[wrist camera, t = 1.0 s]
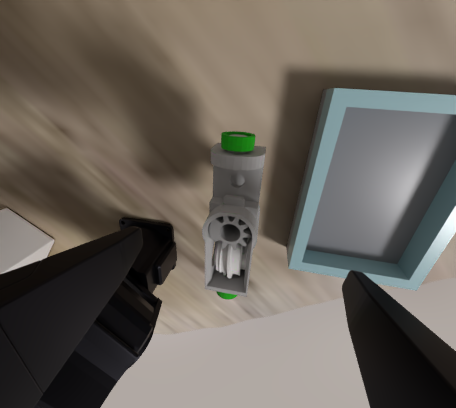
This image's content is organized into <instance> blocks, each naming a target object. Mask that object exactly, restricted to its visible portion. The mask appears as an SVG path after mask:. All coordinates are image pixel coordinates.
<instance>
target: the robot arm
mask: <svg viewBox="0 0 456 408" xmlns="http://www.w3.org/2000/svg"><path fill="white" fill-rule="evenodd" d="M124 222H125V223H124ZM119 224H120V229H121V230H120V231H118V232H115V233H112V234H109V235H107V236H104V237H101V238H99V239H96V240H93V241H90V242H88V243H85V244H82V245H80V246H77V247H74V248H72V249H69V250H66V251H63V252H61V253H58V254H55V255H53V256H50V257H47V258H44V259H42V260H41V261H40V260H39V261H36V262H34V263H31V264H28V265H25V266H23V267H20V268H17V269H14V270H11V271H8V272H5V273H2V274H0V408H100V407H101V405H102V404H103V402H104V401H105V399H106V398H107V396H108V395H109V393H110V392H111V390H112V389H113V387H114V386H115V384H116V383H117V381H118V380H119V379H120V378H121V376H122V375H123V374H124V372H125V371H126V370H127V369H128V368H129V367H131V366H132V365H133V364H134V363H135V362H136V361H137V360H138V359H139V357H140V356H141V355H142V353H143V352H144V351H145V349H146V347H147V346H148V344H149V342H150V340H151V338H152V335H153V332H154V328H155V325H156V321H157V318H158V315H159V311H160V308H161V304H162V301H161V300H160V299H159V298H157V297H155V296H154V295H153V294H152V293H153V291H154V290H155V288H156V286H157V285H162V284H163V283H164V281H165V279H166V277H167V276H168V274H169V272H170V271H171V270H173V269H174V268H175V266H176V260H177V252H176V243H175V242H174V230H173V227H172V226H171V225H169V224H163V223H157V222H151V221H144V220H138V219H131V218H125V217H123V218H121V219H120V220H119ZM167 228H169V229H170V230H168V229H167ZM342 292H343V298H344V304H345V310H346V316H347V322H348V328H349V332H350V335H351V339H352V343H353V346H354V350H355V354H356V357H357V361H358V364H359V368H360V372H361V375H362V379H363V382H364V386H365V390H366V394H367V397H368V401H369V405H370V408H456V351H455V350H454V349H452V348H451V347H450V346H449V345H448V344H446V343H445V342H444V341H443V340H442V339H441V338H439V337H438V336H437V335H436V334H435V333H433V332H432V331H431V330H430V329H429V328H427V327H426V326H425V325H424V324H423V323H422V322H420V321H419V320H418V319H417V318H416V317H415V316H413V315H412V314H411V313H410V312H409V311H407V310H406V309H405V308H404V307H403V306H402V305H400V304H399V303H398V302H397V301H396V300H394V299H393V298H392V297H391V296H390V295H389V294H387V293H386V292H385V291H384V290H383V289H382V288H380V287H379V286H378V285H377V284H376V283H374V282H373V281H372V280H371V279H370V278H369V277H367V276H366V275H365V274H364V273H363V272H360V271H355V270H351V271H349V273H348V275H347V277H346V279H345V281H344V283H343V285H342Z"/></svg>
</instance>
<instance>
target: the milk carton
mask: <svg viewBox="0 0 456 408" xmlns="http://www.w3.org/2000/svg"><path fill="white" fill-rule="evenodd" d="M53 243H54V239H53V238H51V237H50V236H48V235H47V234H45V233H44V232H42V231H41V230H39V229H38V228H36V227H35V226H33V225H32V224H30V223H29V222H27V221H26V220H24V219H23V218H21V217H20V216H18V215H17V214H15V213H14V212H12V211H11V210H9V209H8V208H4V209H2V210H0V274H2V273H5V272H8V271H11V270H14V269H17V268H20V267H23V266H25V265H28V264H31V263H34V262H36V261H39V260H40V261H41V260H42V259H44V258H47V256H48V254H49V252H50V249H51V247H52V245H53Z"/></svg>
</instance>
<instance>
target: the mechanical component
mask: <svg viewBox="0 0 456 408" xmlns="http://www.w3.org/2000/svg"><path fill="white" fill-rule="evenodd" d="M254 144H255V135H254V134H251V133H246V132H223V133H222V137H221V143H217V144H216V145H215V146H213V147H212V148H211V163H212V164H213V165H214V167H213V197H212V199H211V201H210V214H209V216H208V217H207V219H206V221H205V223H204V225H203V229H202V235H203V239H204V241H205V289H207V290H213V291H216V292H217V294H218V295H219V296H220V297H221V298H223V299H233V298H235V297H236V296H237V295H239V296H245V297H247V290H248V283H249V275H250V267H251V260H252V252H253V249H254V247H255V245H256V242H257V234H258V224H259V214H260V206H259V197H260V189H261V182H262V174H263V166H264V159H265V151H266V147H261V146H254ZM214 242H215V249H214V254H213V258H212V251H213V245H214Z"/></svg>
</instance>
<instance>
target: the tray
mask: <svg viewBox="0 0 456 408" xmlns="http://www.w3.org/2000/svg"><path fill="white" fill-rule="evenodd" d="M455 232H456V95H444V94H427V93H411V92H394V91H377V90H361V89H344V88H331V89H324V90H323V94H322V98H321V102H320V107H319V111H318V115H317V119H316V124H315V128H314V132H313V137H312V141H311V145H310V149H309V154H308V158H307V162H306V166H305V171H304V175H303V179H302V183H301V188H300V192H299V196H298V200H297V205H296V209H295V213H294V218H293V222H292V226H291V230H290V235H289V239H288V243H287V247H286V248H287V258H288V268H289V269H294V270H300V271H306V272H312V273H318V274H323V275H329V276H335V277H341V278H346V277H347V275H348V273H349V271H351V270H355V271H360V272H363V273H364V274H365V275H366V276H367V277H369V278H370V279H371V280H372V281H373V282H374V283H376V284H382V285H387V286H393V287H399V288H405V289H411V290H417V289H418V288H419V286H420V285H421V283H422V282H423V280H424V279H425V277H426V276H427V274H428V273H429V271H430V270H431V268H432V267H433V265H434V264H435V262H436V261H437V259H438V258H439V256H440V255H441V253H442V252H443V250H444V249H445V247H446V246H447V244H448V243H449V241H450V240H451V238H452V237H453V235H454V234H455Z"/></svg>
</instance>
